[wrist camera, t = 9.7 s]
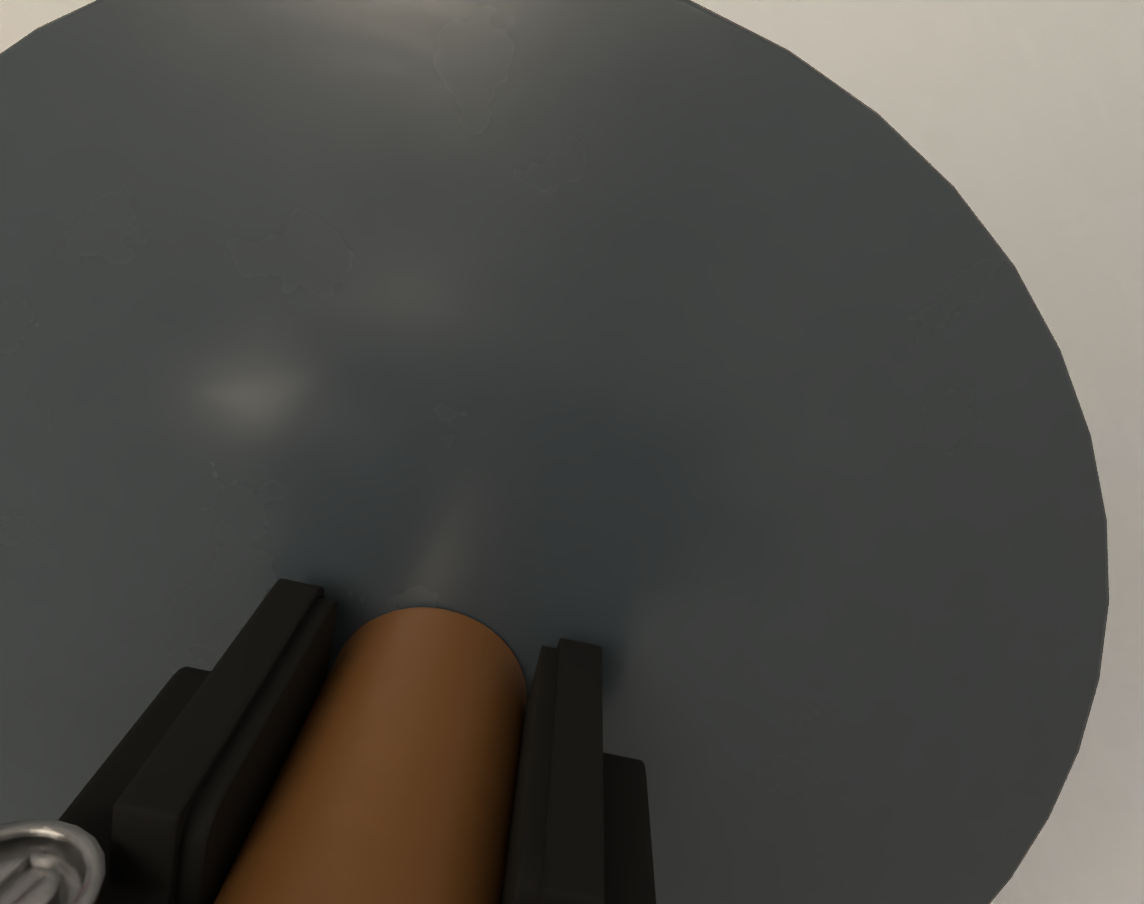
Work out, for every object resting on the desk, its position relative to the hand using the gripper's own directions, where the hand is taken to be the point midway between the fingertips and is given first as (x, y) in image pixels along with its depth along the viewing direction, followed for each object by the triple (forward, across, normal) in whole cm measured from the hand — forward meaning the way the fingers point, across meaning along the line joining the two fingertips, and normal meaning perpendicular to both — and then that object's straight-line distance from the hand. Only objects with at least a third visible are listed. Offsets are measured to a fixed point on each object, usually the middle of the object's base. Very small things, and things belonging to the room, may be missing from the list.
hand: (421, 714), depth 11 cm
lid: (+1, 0, 0) cm, 1 cm away
